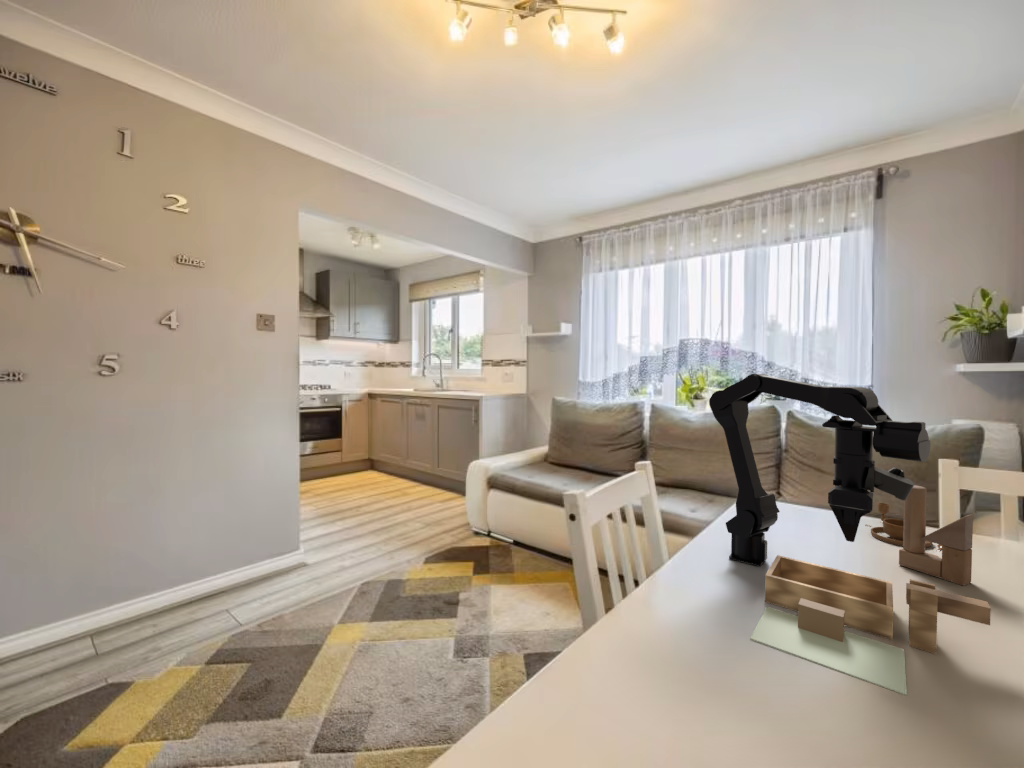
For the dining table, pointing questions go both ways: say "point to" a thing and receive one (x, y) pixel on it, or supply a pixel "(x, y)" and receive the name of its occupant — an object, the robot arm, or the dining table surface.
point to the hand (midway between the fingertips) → (851, 534)
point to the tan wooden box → (853, 599)
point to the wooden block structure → (951, 536)
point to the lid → (832, 644)
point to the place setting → (892, 528)
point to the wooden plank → (956, 605)
